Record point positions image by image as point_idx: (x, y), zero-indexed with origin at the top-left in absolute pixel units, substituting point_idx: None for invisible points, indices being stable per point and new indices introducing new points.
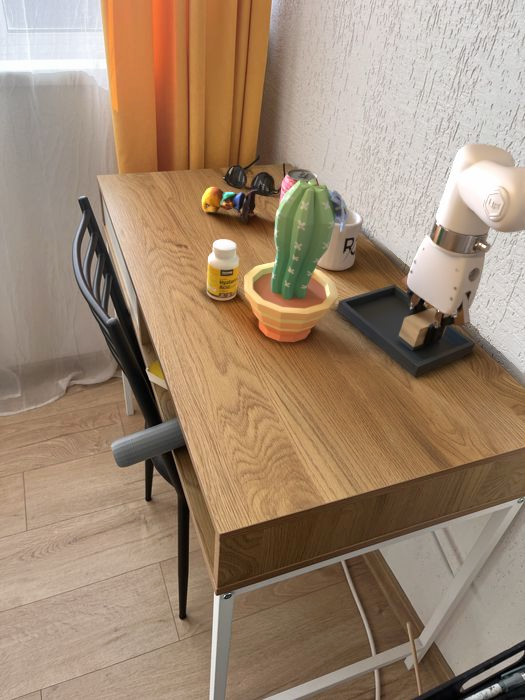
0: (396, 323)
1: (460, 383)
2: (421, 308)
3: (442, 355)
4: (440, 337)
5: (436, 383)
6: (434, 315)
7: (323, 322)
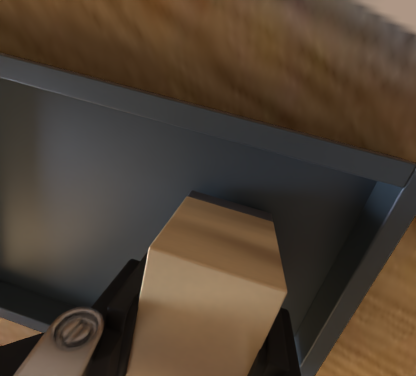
0: (107, 228)
1: (409, 334)
2: (116, 353)
3: (327, 343)
4: (288, 322)
5: (342, 368)
6: (199, 327)
7: (17, 330)
